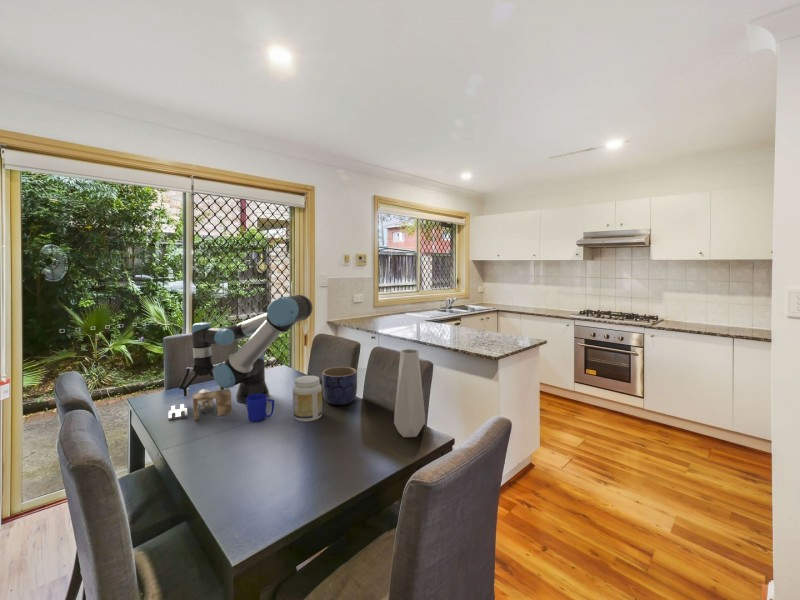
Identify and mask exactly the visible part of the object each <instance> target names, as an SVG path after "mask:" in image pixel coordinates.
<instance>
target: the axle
mask: <svg viewBox="0 0 800 600" xmlns="http://www.w3.org/2000/svg"><path fill="white" fill-rule="evenodd" d="M204 392H211V390H209V389H207V388H204V389H200V390H199V391H198V392H197V394H198V393H204ZM214 406H215V403H214V399H209V400H203V401H198V409H199V410H200V411H201V412H203V413H205V412H206V413H207V412H211V411H212V410H213V409H214Z"/></svg>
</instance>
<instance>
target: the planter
mask: <svg viewBox="0 0 800 600" xmlns="http://www.w3.org/2000/svg"><path fill="white" fill-rule="evenodd" d="M321 376H322V377H321V378H322V381H321V383H322V384H321V386H322V397H323V398H324V400H325V401H326V402H327V403H328V404H330V405H333V406H344V405H348V404H350V403H352V402H353V401H354V400H355V398H356V396H357V391H358V370H357V369H356V368H353V367H349V366H348V367H347V366H336V367H335V366H334V367H329V368H326V369H324V370H323V371H322V374H321Z"/></svg>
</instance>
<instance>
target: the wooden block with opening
mask: <svg viewBox="0 0 800 600" xmlns="http://www.w3.org/2000/svg"><path fill="white" fill-rule="evenodd" d="M209 399H213V400H215V405H216V406H215V407H216V410H215V411H216V413H217V416H218V417H219V416H225V415H231V414H232V413H233V412H232V392H231V390H230V388H224V390H219V389H217V390H212V391H211V390H210V392H204V393H198V392H197V393H194V394H192V410H193V411H192V413H193V419H194V421H198V420H199V404H198V401H203V400H209Z"/></svg>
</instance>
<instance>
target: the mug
mask: <svg viewBox="0 0 800 600" xmlns="http://www.w3.org/2000/svg"><path fill="white" fill-rule="evenodd" d="M267 402H270V403H271V410H270V413H269V415H268V414H267ZM245 404H246V408H247V418H248V421H250V422H252V423H257V422H261V421H264V420H265V418H270V417H272V416H273V414H274V410H275V399H272V398H271V399H270V398H267V395H265V394H253V395H249V396H247V397H246V403H245Z"/></svg>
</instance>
